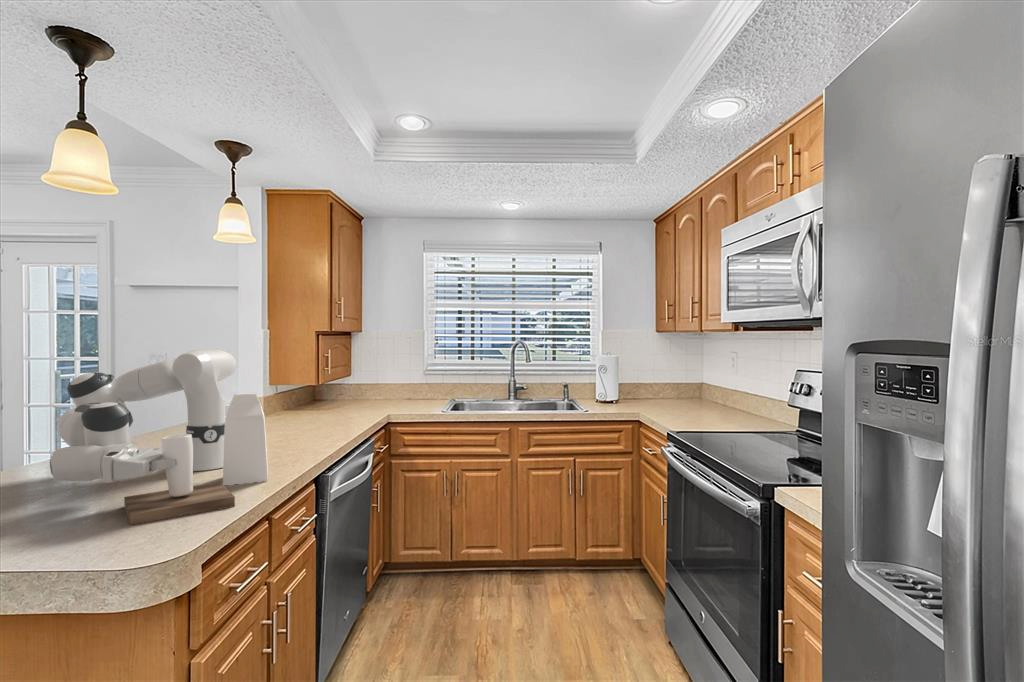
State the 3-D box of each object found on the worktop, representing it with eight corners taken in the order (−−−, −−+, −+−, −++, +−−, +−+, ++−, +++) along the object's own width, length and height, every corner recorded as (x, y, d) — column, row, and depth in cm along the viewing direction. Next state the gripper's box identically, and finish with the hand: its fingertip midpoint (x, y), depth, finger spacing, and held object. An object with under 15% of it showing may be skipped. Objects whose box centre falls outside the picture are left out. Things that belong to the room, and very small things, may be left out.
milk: (222, 486, 160) (221, 396, 160) (225, 476, 170) (224, 393, 170) (267, 481, 165) (266, 394, 164) (268, 472, 175) (267, 391, 175)
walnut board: (124, 506, 141) (124, 496, 141) (219, 490, 155) (219, 482, 155) (130, 525, 127) (130, 514, 127) (234, 506, 141) (234, 496, 141)
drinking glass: (182, 498, 137) (177, 438, 137) (159, 498, 138) (154, 439, 138) (202, 490, 144) (198, 433, 143) (180, 490, 145) (176, 434, 145)
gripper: (145, 464, 149) (199, 462, 151) (99, 485, 129) (163, 482, 131) (145, 441, 149) (199, 440, 151) (99, 458, 129) (162, 456, 131)
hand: (182, 460), depth 141 cm, fingers closed on drinking glass, 6 cm apart
